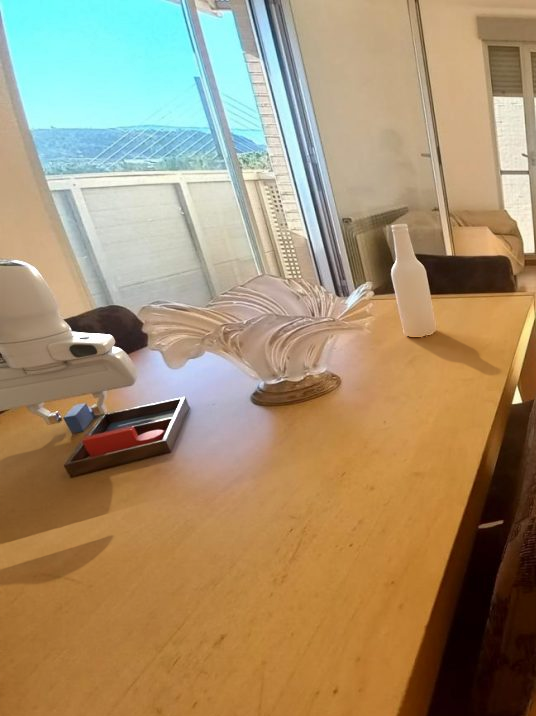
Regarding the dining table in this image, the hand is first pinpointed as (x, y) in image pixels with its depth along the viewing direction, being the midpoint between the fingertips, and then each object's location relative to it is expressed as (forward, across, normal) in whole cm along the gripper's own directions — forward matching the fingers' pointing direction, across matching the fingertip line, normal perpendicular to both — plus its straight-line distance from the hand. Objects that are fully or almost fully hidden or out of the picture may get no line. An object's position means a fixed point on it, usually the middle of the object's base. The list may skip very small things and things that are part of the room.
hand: (78, 417), depth 89 cm
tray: (+2, +10, -12) cm, 16 cm away
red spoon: (+1, +10, -17) cm, 20 cm away
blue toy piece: (+2, 0, +2) cm, 2 cm away
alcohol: (+2, +65, +16) cm, 67 cm away
